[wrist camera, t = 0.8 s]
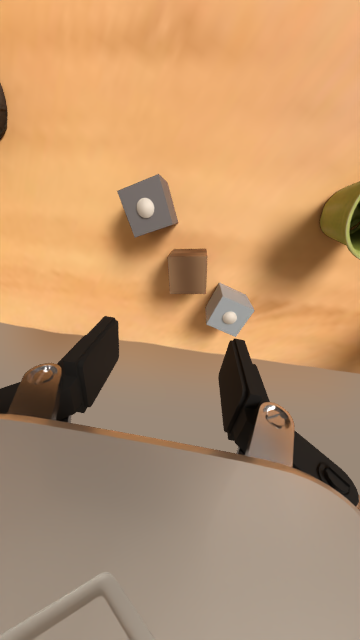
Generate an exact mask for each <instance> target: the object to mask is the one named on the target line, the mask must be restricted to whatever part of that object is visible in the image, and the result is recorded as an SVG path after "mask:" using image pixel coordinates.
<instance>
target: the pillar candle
mask: <svg viewBox="0 0 360 640" xmlns="http://www.w3.org/2000/svg"><path fill="white" fill-rule="evenodd" d="M6 125H7V107H6V101H5V96H4V92H3V89H2V86H1V84H0V138H1V136H2V135H3V134H4V132H5V129H6Z"/></svg>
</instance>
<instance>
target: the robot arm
mask: <svg viewBox="0 0 360 640" xmlns="http://www.w3.org/2000/svg"><path fill="white" fill-rule="evenodd" d="M118 358H119V337H118V321H116V320H115V318H113V317H107V316H105V317H103V318H102V319H101V320H100V322H99V323H98V324H97V325H96V326H95V327H94V328H93V329H92V330H91V331H90V332H89V333H88V334H87V335H85V336H84V337H83V338H82V339H81V340H80V341H79V342H78V343H77V344H76V345H75V346H74V347H73V348H72V349H71V350H70V351H69V352H68V353H67V354H66V355H65V356H64V357H63V358H62V359H61V360H60V361H59V362H58V364H54V363H45V364H40V365H38V366H35V367H33V368H31V369H30V370H28V371H27V372H26V373H25V374H24V376H23V378H22V380H21V382H19V383H16V384H13V385H10V386H7V387H4V388H1V389H0V640H360V496H359V495H358V492H357V489H356V487H355V485H354V484H353V482H352V480H351V479H350V478H349V477H348V475H347V474H346V473H345V472H344V471H343V470H342V469H341V468H339V467H338V466H337V465H336V464H334V463H333V462H332V461H331V460H330V459H329V458H327V457H326V456H325V455H324V454H322V453H321V452H320V451H319V450H318V449H316V448H315V447H314V446H313V445H311V444H310V443H309V442H308V441H307V440H305V439H304V438H303V437H302V436H300V435H299V434H298V433H297V432H296V431H295V430H294V421H293V419H292V417H291V416H290V414H289V413H288V412H287V411H286V410H285V409H284V408H283V407H281V406H279V405H278V404H275V403H271V402H270V401H269V399H268V396H267V394H266V390H265V388H264V385H263V382H262V379H261V377H260V374H259V371H258V369H257V366H256V365H255V364H252V361H251V359H250V356H249V353H248V350H247V347H246V344H245V341H244V340H239V339H234V340H233V341H230V342H229V345H228V348H227V351H226V354H225V357H224V360H223V363H222V366H221V369H220V372H219V387H220V397H221V406H222V416H223V426H224V431H225V432H227V433H228V439H229V440H233V441H235V443H236V444H237V445H238V450H237V453H236V454H235V453H230V452H225V451H220V450H214V449H209V448H204V447H199V446H193V445H188V444H183V443H177V442H172V441H166V440H161V439H156V438H150V437H145V436H140V435H134V434H129V433H123V432H117V431H112V430H107V429H101V428H95V427H90V426H84V425H78V424H73V423H71V415H73V414H74V413H76V412H81V413H84V412H85V411H86V409H87V407H91V406H92V404H93V402H94V401H95V399H96V397H97V395H98V394H99V392H100V390H101V388H102V387H103V385H104V383H105V382H106V380H107V378H108V376H109V375H110V373H111V371H112V369H113V368H114V366H115V364H116V362H117V361H118Z"/></svg>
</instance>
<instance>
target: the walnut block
mask: <svg viewBox="0 0 360 640" xmlns="http://www.w3.org/2000/svg"><path fill="white" fill-rule="evenodd" d="M168 270H169V286H170V294H206V277H207V251H206V249H174V250H173V251H172V252H171V253H170V255H169V256H168Z"/></svg>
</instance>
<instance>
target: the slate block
mask: <svg viewBox="0 0 360 640" xmlns="http://www.w3.org/2000/svg"><path fill="white" fill-rule="evenodd" d="M205 308H206V324H207V325H209V326H211V327H214V328H216V329H218V330H221V331H223V332H225V333H228V334H230V335H232V336H235V337H236V336H237V334H238V333H239V332H240V330H241V329H242V327H243V326H244V325H245V323H246V322H247V320H248V319H249V318H250V316H251V315H252V313H253V312H254V308H253V307H252V305H251V303H250V301H249V299H248V298H247V296H246V295H245V294H243V293H241V292H239V291H236V290H234V289H232V288H230V287H228V286H226V285H223V284H221V283H219V284H218V286H217V288H216V289H215V291H214V293H213V295H212V297H211V298H210V300H209V302H208V304H207V306H206V307H205Z"/></svg>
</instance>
